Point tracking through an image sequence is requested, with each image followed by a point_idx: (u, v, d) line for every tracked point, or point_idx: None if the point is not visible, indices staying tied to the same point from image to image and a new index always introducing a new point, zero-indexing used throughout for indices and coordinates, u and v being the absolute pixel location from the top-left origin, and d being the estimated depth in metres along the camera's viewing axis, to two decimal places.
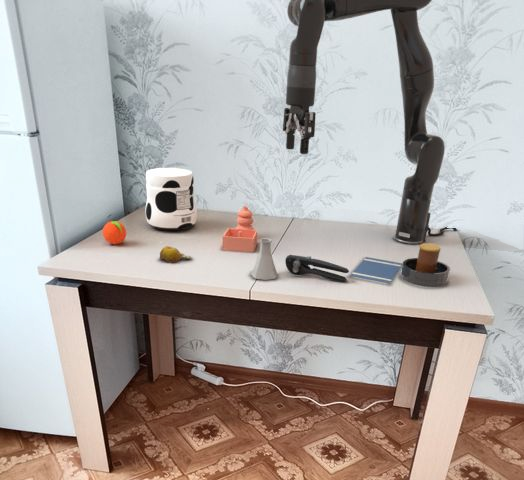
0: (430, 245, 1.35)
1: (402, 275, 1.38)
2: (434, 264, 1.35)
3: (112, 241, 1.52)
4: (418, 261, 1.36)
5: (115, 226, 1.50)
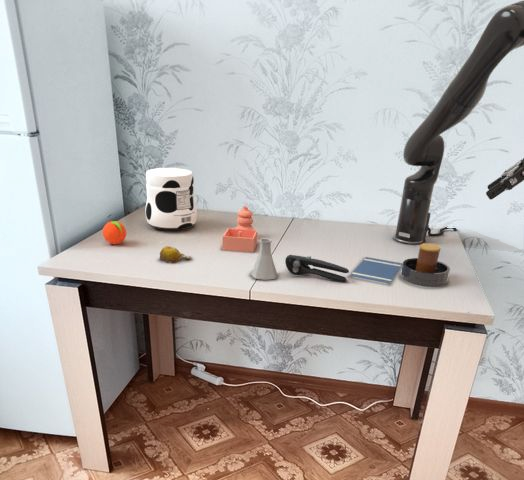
0: (430, 245, 1.35)
1: (402, 275, 1.38)
2: (434, 264, 1.35)
3: (112, 241, 1.52)
4: (418, 261, 1.36)
5: (115, 226, 1.50)
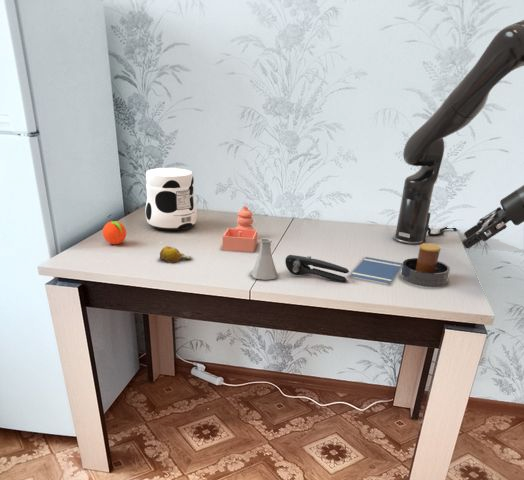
0: (430, 245, 1.35)
1: (402, 275, 1.38)
2: (434, 264, 1.35)
3: (112, 241, 1.52)
4: (418, 261, 1.36)
5: (115, 226, 1.50)
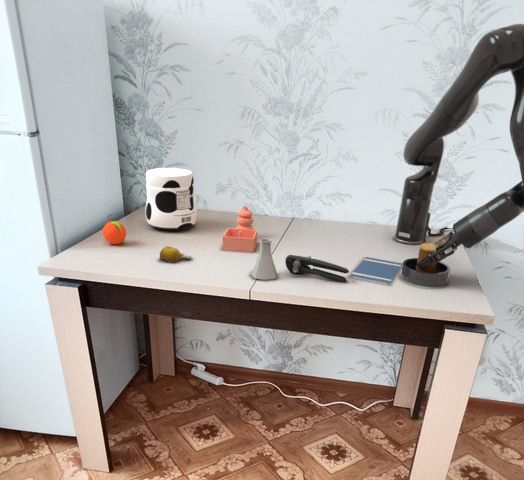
0: (430, 245, 1.35)
1: (402, 275, 1.38)
2: (434, 264, 1.35)
3: (112, 241, 1.52)
4: (418, 261, 1.36)
5: (115, 226, 1.50)
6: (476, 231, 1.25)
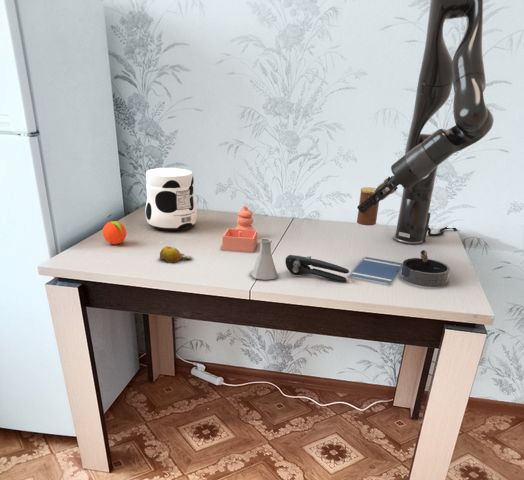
0: (371, 188, 1.35)
1: (402, 275, 1.38)
2: (375, 207, 1.35)
3: (112, 241, 1.52)
4: None
5: (115, 226, 1.50)
6: (412, 170, 1.25)
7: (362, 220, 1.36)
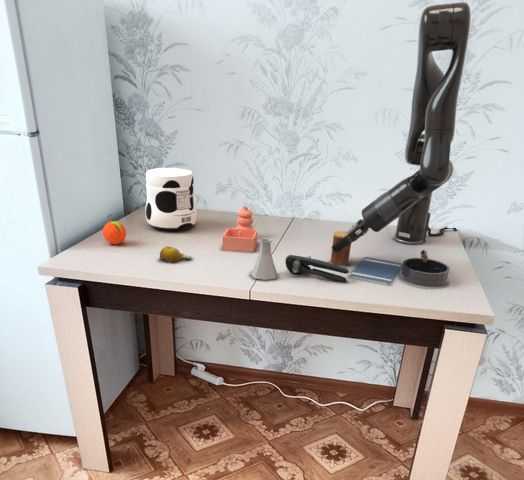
0: (343, 232, 1.44)
1: (402, 275, 1.38)
2: (347, 250, 1.43)
3: (112, 241, 1.52)
4: None
5: (115, 226, 1.50)
6: (380, 215, 1.33)
7: (335, 262, 1.45)
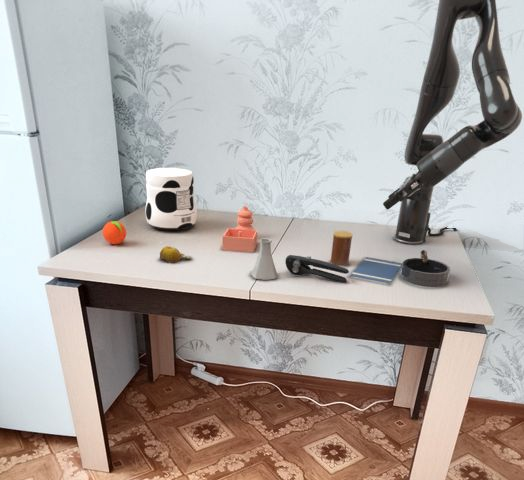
0: (343, 232, 1.44)
1: (402, 275, 1.38)
2: (347, 250, 1.43)
3: (112, 241, 1.52)
4: (332, 247, 1.44)
5: (115, 226, 1.50)
6: (439, 167, 1.24)
7: (335, 262, 1.45)
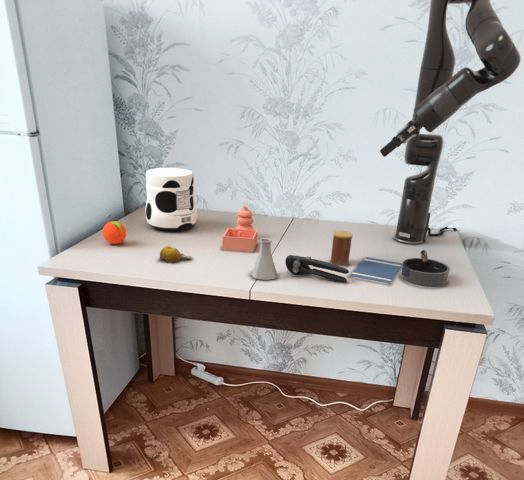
0: (343, 232, 1.44)
1: (402, 275, 1.38)
2: (347, 250, 1.43)
3: (112, 241, 1.52)
4: (332, 247, 1.44)
5: (115, 226, 1.50)
6: (436, 110, 1.24)
7: (335, 262, 1.45)
